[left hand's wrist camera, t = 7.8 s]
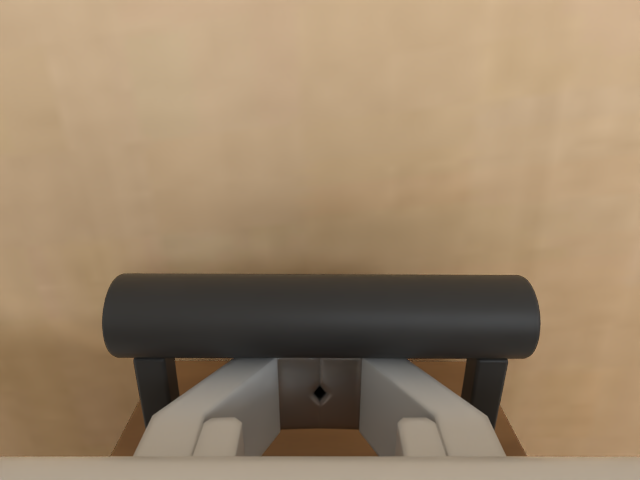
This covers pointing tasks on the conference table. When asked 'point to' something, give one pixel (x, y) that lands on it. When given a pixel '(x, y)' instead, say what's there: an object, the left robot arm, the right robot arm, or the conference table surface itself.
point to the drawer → (320, 336)
